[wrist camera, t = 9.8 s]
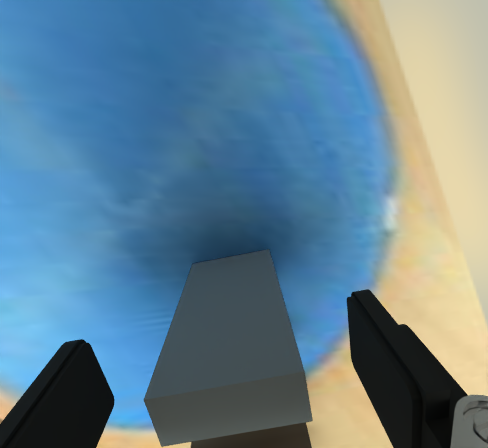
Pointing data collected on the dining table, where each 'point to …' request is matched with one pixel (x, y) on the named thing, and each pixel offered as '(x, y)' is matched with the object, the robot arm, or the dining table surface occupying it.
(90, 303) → the dining table surface
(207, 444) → the walnut domino
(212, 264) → the charcoal domino
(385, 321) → the robot arm
